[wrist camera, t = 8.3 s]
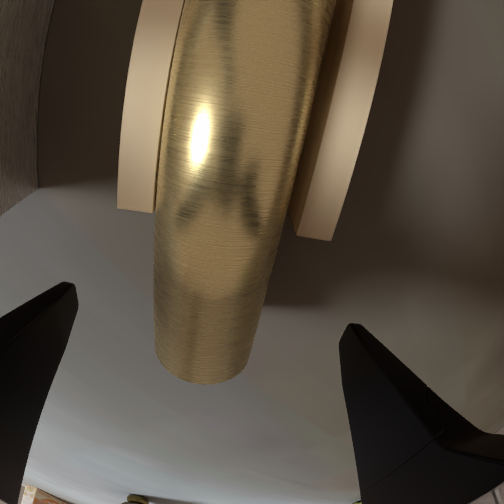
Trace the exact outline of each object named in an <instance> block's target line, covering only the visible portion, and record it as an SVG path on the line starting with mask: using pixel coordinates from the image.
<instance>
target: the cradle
mask: <svg viewBox="0 0 504 504" xmlns="http://www.w3.org/2000/svg"><path fill="white" fill-rule="evenodd" d="M54 1H55V0H0V216H1V215H2V214H4V213H5V212H6V211H8V210H9V209H10V208H12V207H13V206H14V205H16V204H17V203H19V202H20V201H21V200H23V199H24V198H26V197H27V196H28V195H30V194H31V193H33V192H34V191H36V190H37V189H38V175H37V119H38V101H39V89H40V79H41V70H42V63H43V56H44V49H45V43H46V38H47V32H48V27H49V23H50V18H51V14H52V9H53V5H54Z"/></svg>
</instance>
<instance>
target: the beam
mask: <svg viewBox="0 0 504 504" xmlns="http://www.w3.org/2000/svg"><path fill="white" fill-rule="evenodd" d="M184 3H185V0H143V2H142V6H141V10H140V14H139V18H138V23H137V28H136V32H135V37H134V42H133V48H132V53H131V59H130V65H129V71H128V77H127V84H126V91H125V99H124V107H123V116H122V126H121V138H120V151H119V167H118V193H117V208H119V209H126V210H133V211H141V212H148V213H153V211H154V210H155V208H156V198H157V184H158V171H159V160H160V150H161V140H162V131H163V123H164V115H165V107H166V100H167V93H168V87H169V80H170V74H171V68H172V62H173V57H174V51H175V46H176V41H177V36H178V31H179V26H180V21H181V17H182V12H183V8H184ZM392 5H393V0H334V3H333V8H332V13H331V18H330V23H329V27H328V32H327V37H326V42H325V47H324V52H323V56H322V61H321V66H320V70H319V75H318V80H317V84H316V89H315V93H314V98H313V102H312V107H311V111H310V116H309V120H308V124H307V129H306V133H305V137H304V142H303V146H302V150H301V155H300V159H299V163H298V167H297V172H296V176H295V180H294V184H293V188H292V192H291V197H290V201H289V205H288V209H287V210H288V213H289V216H290V219H291V222H292V224H293V227H294V230H295V233H296V236H302V237H308V238H314V239H320V240H326V241H331V239H332V237H333V234H334V231H335V228H336V224H337V221H338V218H339V215H340V212H341V209H342V206H343V203H344V200H345V196H346V193H347V190H348V187H349V183H350V180H351V177H352V173H353V170H354V166H355V163H356V160H357V156H358V153H359V149H360V145H361V142H362V138H363V135H364V131H365V127H366V123H367V119H368V116H369V112H370V108H371V104H372V100H373V96H374V92H375V87H376V83H377V79H378V75H379V70H380V66H381V61H382V57H383V52H384V47H385V42H386V37H387V32H388V27H389V22H390V16H391V11H392Z"/></svg>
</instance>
